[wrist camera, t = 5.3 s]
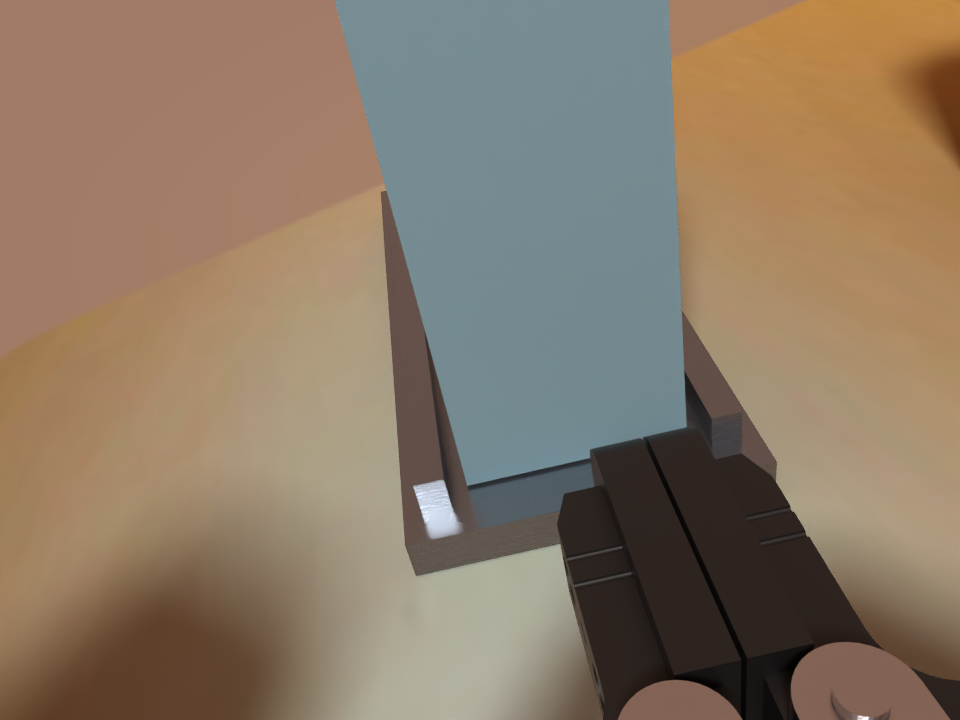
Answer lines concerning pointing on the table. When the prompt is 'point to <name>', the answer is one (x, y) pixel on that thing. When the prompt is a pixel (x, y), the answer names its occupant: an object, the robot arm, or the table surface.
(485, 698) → the table surface
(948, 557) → the table surface
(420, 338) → the rail plate
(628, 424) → the grey blue block
